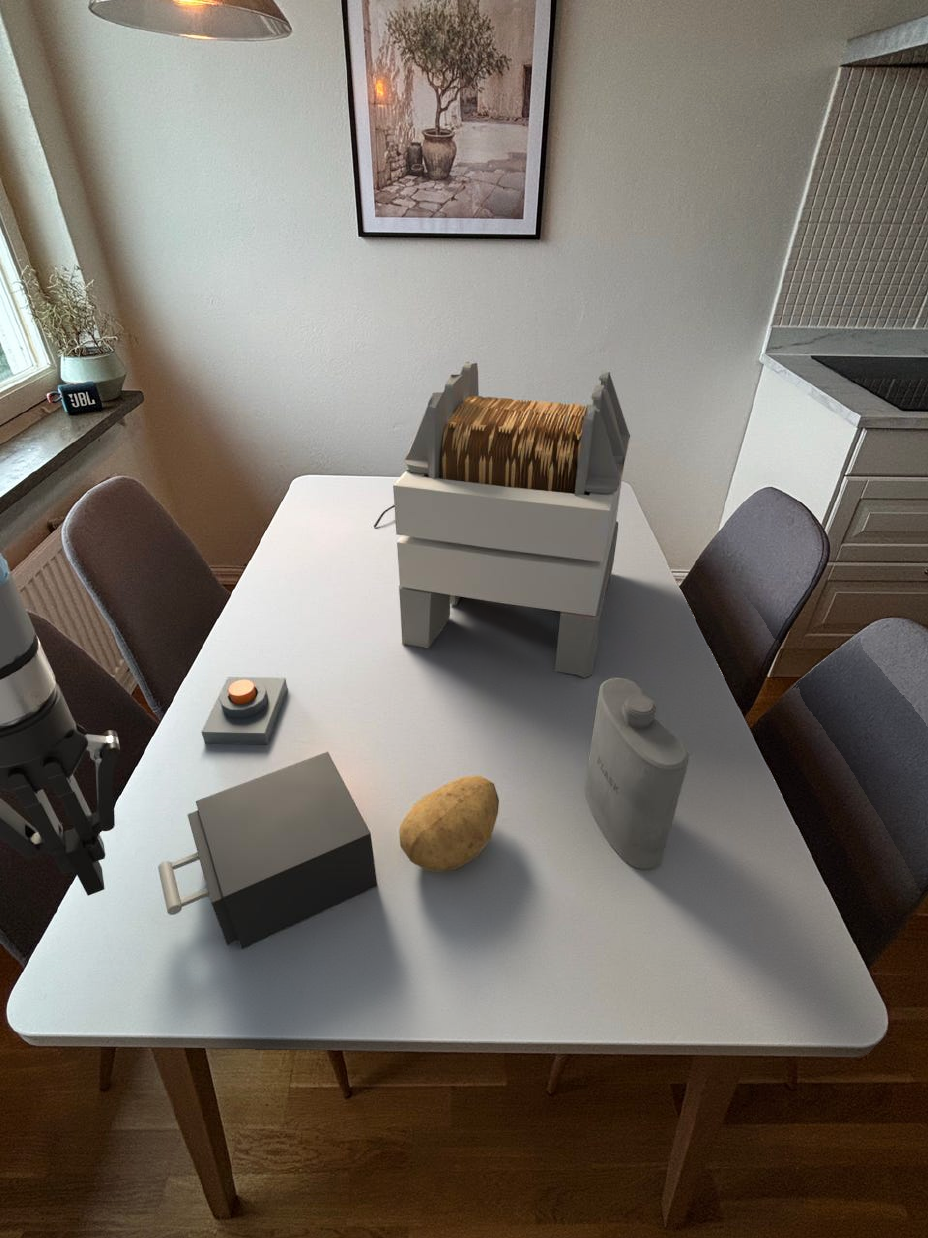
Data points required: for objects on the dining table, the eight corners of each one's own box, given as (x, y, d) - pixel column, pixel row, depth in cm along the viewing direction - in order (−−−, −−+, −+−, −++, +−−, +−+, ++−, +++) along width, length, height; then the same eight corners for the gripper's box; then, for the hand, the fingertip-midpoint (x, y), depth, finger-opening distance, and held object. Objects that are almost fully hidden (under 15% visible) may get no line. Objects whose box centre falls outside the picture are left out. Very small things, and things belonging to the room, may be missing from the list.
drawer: (185, 965, 70) (165, 923, 66) (164, 872, 79) (146, 829, 74) (356, 886, 77) (349, 843, 73) (320, 809, 86) (312, 766, 82)
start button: (252, 705, 98) (249, 696, 97) (227, 704, 98) (225, 695, 97) (259, 688, 101) (257, 679, 100) (235, 688, 101) (232, 679, 100)
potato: (520, 832, 85) (523, 788, 80) (440, 909, 76) (439, 865, 71) (462, 790, 90) (462, 747, 85) (382, 857, 82) (377, 814, 77)
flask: (573, 782, 91) (588, 665, 79) (612, 772, 92) (633, 656, 81) (625, 877, 79) (652, 757, 68) (670, 864, 81) (703, 745, 69)
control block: (267, 744, 97) (262, 724, 94) (204, 743, 97) (198, 722, 95) (287, 688, 107) (283, 668, 104) (230, 687, 107) (225, 667, 104)
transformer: (454, 550, 142) (451, 346, 118) (612, 572, 135) (643, 359, 111) (397, 646, 115) (380, 407, 92) (591, 680, 108) (626, 429, 84)
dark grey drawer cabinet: (241, 950, 72) (223, 897, 67) (213, 853, 82) (195, 801, 76) (377, 886, 78) (370, 833, 73) (336, 803, 88) (327, 751, 83)
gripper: (91, 650, 58) (159, 828, 72) (-91, 698, 53) (18, 879, 67) (100, 702, 53) (171, 883, 67) (-102, 761, 48) (19, 944, 61)
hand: (94, 881), depth 67 cm, fingers closed
